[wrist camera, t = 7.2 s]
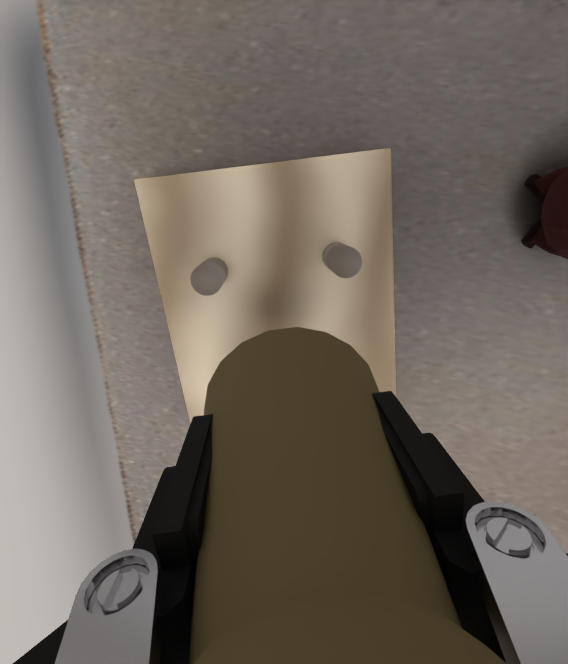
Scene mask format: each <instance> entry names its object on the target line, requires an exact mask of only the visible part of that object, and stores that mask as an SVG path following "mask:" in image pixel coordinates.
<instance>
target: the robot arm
mask: <svg viewBox="0 0 568 664" xmlns="http://www.w3.org/2000/svg"><path fill="white" fill-rule="evenodd" d="M372 395H373V397H374V399H375V402H376V405H377V409H378V413H379V417H380V421H381V424H382V428H383V431H384V434H385V436H386V438H387V441H388V443H389V446H390V448H391V450H392V453H393V455H394V458H395V460H396V462H397V465H398V467H399V469H400V472H401V474H402V477H403V479H404V481H405V484H406V486H407V489H408V491H409V493H410V496H411V498H412V501H413V503H414V505H415V508H416V510H417V512H418V515H419V517H420V519H421V520H422V521H423V523H424V525H425V528H426V530H427V532H428V535H429V537H430V539H431V542H432V545H433V547H434V550H435V553H436V556H437V558H438V561H439V564H440V567H441V569H442V572H443V575H444V578H445V580H446V583H447V586H448V589H449V592H450V595H451V598H452V601H453V603H454V606H455V609H456V612H457V615H458V618H459V621H460V623H461V626H462V629H463V630H465V631H466V632H467V633H469V634H470V635H472V636H473V637H475V638H476V639H477V640H479V641H480V642H482V643H483V644H484V645H486V646H487V647H488V648H489V649H491V650H492V651H493V652H494V653H495V654H496V655H497V656H499V657H500V658H501V659H502V660H503V661H504V662H505V663H507V664H568V554H567V553H565V552H564V550H563V548H562V547H561V545H560V544H559V542H558V541H557V539H556V538H555V536H554V535H553V533H552V532H551V530H550V529H549V528H548V527H547V526H546V525H545V523H544V522H543V521H541V520H540V519H539V518H537V517H536V516H535V515H534V514H532V513H530V512H528V511H527V510H525V509H523V508H521V507H519V506H515V505H512V504H509V503H505V502H497V501H489V502H484V500H483V499H482V498H481V496H480V495H479V494H478V492H477V491H476V490H475V488H474V487H473V486H472V484H471V483H470V482H469V481H468V479H467V478H466V477H465V475H464V474H463V473H462V471H461V470H460V469H459V467H458V466H457V465H456V463H455V462H454V461H453V460H452V458H451V457H450V456H449V454H448V453H447V452H446V450H445V449H444V448H443V446H442V445H441V444H440V442H439V441H438V440H437V438H436V437H435V436H434V435H433V434H431V433H424V434H422V433H421V431H420V430H419V429H418V427H417V426H416V424H415V423H414V422H413V420H412V419H411V417H410V416H409V415H408V413H407V412H406V410H405V409H404V408H403V406H402V405H401V403H400V402H399V401H398V399H397V398H396V396H395V395H394V394H393V392H392V391H385V392H378V393H372ZM212 416H213V414H209V415H201V416H194V417H193V419H192V421H191V424H190V427H189V430H188V433H187V435H186V438H185V441H184V444H183V447H182V449H181V452H180V455H179V458H178V461H177V464H176V466H173V467H167V468H165V469H164V471H163V473H162V475H161V478H160V480H159V483H158V486H157V488H156V491H155V493H154V496H153V498H152V501H151V503H150V506H149V508H148V511H147V513H146V516H145V518H144V521H143V523H142V526H141V528H140V531H139V534H138V536H137V539H136V541H135V544H134V546H133V549H130V550H124V551H122V552H119V553H117V554H114V555H112V556H110V557H109V558H107V559H106V560H104V561H103V562H101V563H100V564H99V565H98V566H97V567H96V568H94V569H93V570H92V571H91V572H90V573H89V574H88V576H87V577H86V578H85V580H84V581H83V582H82V584H81V586H80V588H79V590H78V592H77V594H76V597H75V600H74V604H73V607H72V610H71V613H70V616H69V619H68V620H67V621H66V622H65V623H63V624H62V625H61V626H60V627H58V628H57V629H56V630H55V631H53V632H52V633H51V634H50V635H48V636H47V637H46V638H45V639H43V640H42V641H41V642H40V643H38V644H37V645H36V646H35V647H33V648H32V649H31V650H29V651H28V652H27V653H26V654H24V656H22V657H21V658H20V659H18V660H17V661H16V662H14V663H13V664H189V654H190V637H191V620H192V605H193V593H194V581H195V570H196V565H197V559H198V553H199V550H200V548H201V541H202V533H203V524H204V516H205V508H206V500H207V492H208V484H209V476H210V468H211V460H212V426H211V422H212Z"/></svg>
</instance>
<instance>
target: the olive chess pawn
mask: <svg viewBox="0 0 568 664" xmlns="http://www.w3.org/2000/svg"><path fill="white" fill-rule="evenodd" d="M378 392H379V389H378V386H377V384H376V381H375V379H374V377H373V374H372V372H371V369H370V367H369V365H368V363H367V362H366V361H365V360H364V359H363V358H362V357H361V356H360V355H359V354H358V353H357V351H356V350H355V349H354V348H353V347H352V346H351V345H349V344H348V343H346V342H344V341H342V340H340V339H338V338H336V337H335V336H333V335H331V334H329V333H327V332H323V331H318V330H312V329H307V328H301V327H292V328H284V329H276V330H268V331H266V332H264V333H261V334H259V335H257V336H255V337H253V338H250V339H248V340H246V341H244V342H242V343H240V344H239V345H238V346H237V347H236V348H235V349H234V350H233V351H231V352H230V353H229V354H228V355H227V356H226V357H225V358H224V359H223V360H222V361H220V363H219V365H218V367H217V369H216V371H215V372H214V374H213V376H212V378H211V380H210V381H209V383H208V386H207V393H206V399H205V406H204V415H209V414H213V416H212V422H211V426H212V460H211V468H210V476H209V484H208V492H207V500H206V508H205V516H204V524H203V533H202V541H201V548H200V550H199V553H198V559H197V565H196V570H195V581H194V593H193V605H192V620H191V637H190V654H189V664H507V663H505V662H504V661H503V660H502V659H501V658H500V657H499V656H497V655H496V654H495V653H494V652H493V651H492V650H491V649H489V648H488V647H487V646H486V645H484V644H483V643H482V642H480V641H479V640H477V639H476V638H475V637H473V636H472V635H470V634H469V633H467V632H466V631H465V630H463V629H462V626H461V623H460V621H459V618H458V615H457V612H456V609H455V606H454V603H453V601H452V598H451V595H450V592H449V589H448V586H447V583H446V580H445V578H444V575H443V572H442V569H441V567H440V564H439V561H438V558H437V556H436V553H435V550H434V547H433V545H432V542H431V539H430V537H429V535H428V532H427V530H426V528H425V525H424V523H423V521H422V520H421V519H420V517H419V515H418V512H417V510H416V508H415V505H414V503H413V501H412V498H411V496H410V493H409V491H408V489H407V486H406V484H405V481H404V479H403V477H402V474H401V472H400V469H399V467H398V465H397V462H396V460H395V458H394V455H393V453H392V450H391V448H390V446H389V443H388V441H387V438H386V436H385V434H384V431H383V428H382V424H381V421H380V417H379V413H378V409H377V405H376V402H375V399H374V397H373V395H372V393H378Z"/></svg>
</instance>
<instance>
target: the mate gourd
mask: <svg viewBox="0 0 568 664" xmlns="http://www.w3.org/2000/svg"><path fill="white" fill-rule="evenodd" d="M525 185H526V187H527V188H528V189H529V190H530V191H531V192H532V193H533V194H534V195H535V196H536V197H537V198H538V199H539V200H540V201H541V202H542V203H543V204H542V217H541V218H540V220H539V221H538V222H537V223H536V224H535V225H534V226H533V227H532V229H531V230H530V231H529V232H528V233H527V234H526V235H525V237H524V238H523V239H522V240H521V241H522V243H523V244H524V245H525V246H526V247H529V248H532V247H533V246H535V245H537V246H539V247H540V248H542V249H543V250H545V251H547V252H549V253H551V254H555V255H559V256H562V257H564V258H567V259H568V167H566V168H562V169H558V170H556V171H553V172H551V173H549V174H547V175H545V176H544V177H540V176H539V175H538V174H535V175H531V176H530V177H529V178H528V179H527V180H526V182H525Z"/></svg>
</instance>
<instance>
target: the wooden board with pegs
mask: <svg viewBox="0 0 568 664" xmlns="http://www.w3.org/2000/svg"><path fill="white" fill-rule="evenodd" d="M134 182H135V186H136V190H137V195H138V199H139V203H140V208H141V212H142V216H143V221H144V225H145V229H146V233H147V238H148V242H149V246H150V251H151V255H152V259H153V264H154V268H155V272H156V277H157V281H158V285H159V290H160V294H161V298H162V303H163V307H164V311H165V316H166V320H167V324H168V328H169V333H170V337H171V341H172V346H173V350H174V354H175V359H176V363H177V367H178V372H179V376H180V380H181V385H182V389H183V393H184V398H185V402H186V406H187V411H188V415H189V419H190V424H191V421H192V419H193V417H194V416H201V415H204V406H205V399H206V393H207V386H208V383H209V381H210V380H211V378H212V376H213V374H214V372H215V371H216V369H217V367H218V365H219V363H220V361H222V360H223V359H224V358H225V357H226V356H227V355H228V354H229V353H230V352H231V351H233V350H234V349H235V348H236V347H237V346H238V345H239V344H240V343H242V342H244V341H246V340H248V339H250V338H253V337H255V336H257V335H259V334H261V333H264V332H266V331H268V330H276V329H284V328H292V327H301V328H307V329H312V330H318V331H323V332H327V333H329V334H331V335H333V336H335V337H336V338H338V339H340V340H342V341H344V342H346V343H348V344H349V345H351V346H352V347H353V348H354V349H355V350H356V351H357V353H358V354H359V355H360V356H361V357H362V358H363V359H364V360H365V361H366V362H367V363H368V365H369V367H370V369H371V372H372V374H373V377H374V379H375V381H376V384H377V386H378V389H379V392H385V391H392V392H393V394H394V395H395V396H396V365H395V319H394V272H393V226H392V179H391V148H386V149H378V150H370V151H362V152H354V153H345V154H337V155H329V156H321V157H313V158H305V159H297V160H289V161H281V162H273V163H265V164H257V165H249V166H240V167H232V168H224V169H216V170H208V171H200V172H192V173H184V174H176V175H168V176H160V177H152V178H144V179H135V180H134Z"/></svg>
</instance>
